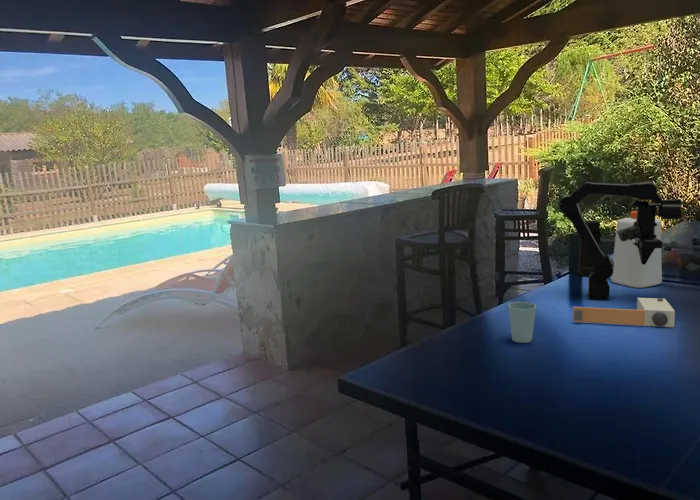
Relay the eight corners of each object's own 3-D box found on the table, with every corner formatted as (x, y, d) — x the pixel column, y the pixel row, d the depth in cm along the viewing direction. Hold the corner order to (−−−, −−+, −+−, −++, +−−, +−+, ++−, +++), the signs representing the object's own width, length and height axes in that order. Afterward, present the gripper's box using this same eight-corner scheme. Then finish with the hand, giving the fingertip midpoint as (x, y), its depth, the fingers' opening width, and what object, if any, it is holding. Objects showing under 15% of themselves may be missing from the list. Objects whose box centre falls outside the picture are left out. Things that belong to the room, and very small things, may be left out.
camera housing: (644, 327, 172) (645, 309, 171) (636, 312, 186) (637, 295, 185) (674, 328, 170) (676, 310, 168) (664, 313, 184) (665, 296, 183)
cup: (514, 345, 162) (515, 309, 160) (503, 336, 169) (504, 302, 167) (540, 343, 163) (540, 307, 161) (528, 334, 170) (528, 300, 168)
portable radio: (596, 272, 241) (598, 214, 237) (600, 276, 235) (603, 216, 231) (576, 273, 242) (578, 214, 237) (581, 276, 236) (583, 216, 231)
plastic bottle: (605, 281, 226) (608, 211, 221) (632, 276, 232) (635, 208, 227) (639, 289, 213) (642, 215, 207) (666, 284, 219) (671, 211, 214)
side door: (644, 326, 171) (645, 311, 170) (573, 322, 178) (573, 308, 177) (643, 324, 173) (644, 310, 172) (572, 320, 179) (573, 306, 178)
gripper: (614, 216, 204) (612, 258, 207) (626, 223, 186) (624, 270, 189) (648, 215, 202) (645, 258, 205) (664, 223, 184) (661, 270, 187)
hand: (643, 264), depth 196 cm, fingers closed
